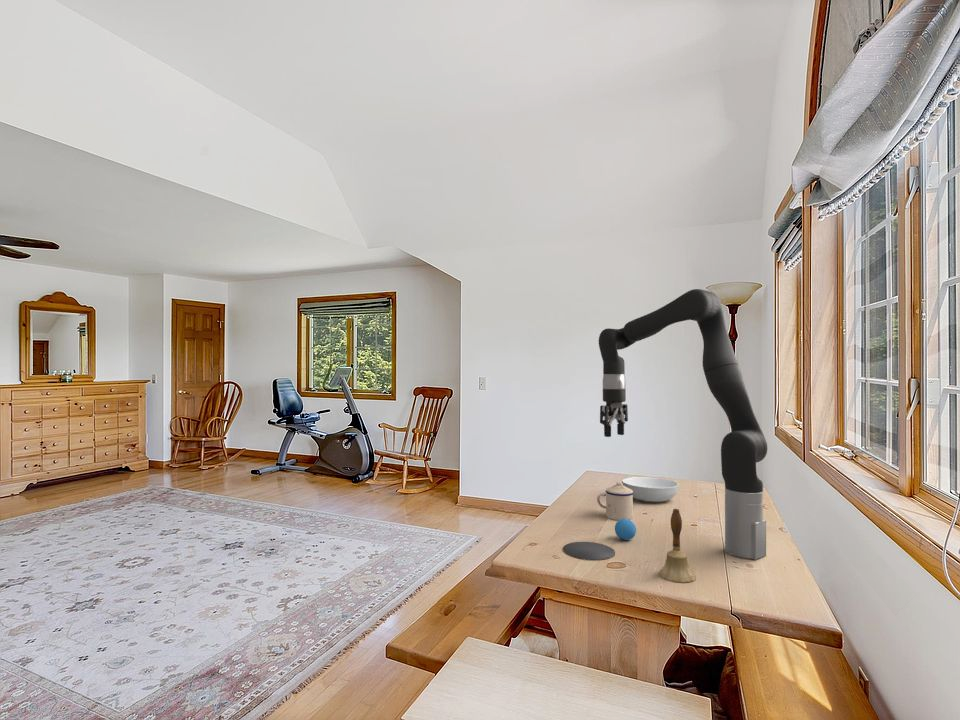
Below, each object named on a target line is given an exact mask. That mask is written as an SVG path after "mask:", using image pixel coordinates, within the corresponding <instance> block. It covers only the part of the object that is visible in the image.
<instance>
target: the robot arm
mask: <svg viewBox="0 0 960 720" xmlns="http://www.w3.org/2000/svg"><path fill="white" fill-rule="evenodd" d="M690 320H691V321H694V322H695V321H696V322H697V324H698V325H697V326H698V327H699V330H700V333H701V336H702V341H703V343H702V344H703V351H702V352H703V353H702V369H703V370H702V371H703V373H704V376H705V377H704V378H705V380H706V383H707V385H708V388H709V391H710V392H711V395H712V396H713V398H715V400H716V401H717V403H718V404H719V405H720V407H721V408H722V409H723V412H724V413H725V414H726V417H727V420H728V422H729V426H730V429H731V431H730V432H729V433H727V434H726V435H725V436H724V437H723V438H722V441H721V445H720V462H721V464H720V465H721V476H722V479H723V482H724V551H725V553H727V554H729V555H731V556H734V557H738V558H742V559H751V560H753V561H754V560H759V559H762V558H763V557H766V556H767V520H766V519H765V518H763V517H764V511H763V510H764V509H763V508H764V505H763V504H764V503H763V502H764V501H763V499H764V491H763V490H764V484H763V481H762V480H761V479H760V478H759V477H758V475H757V464H758V463H759V462H762V461H763V460H764V459H765V457H766V456H767V454H768V443H767V440H766V437H765V435H764V433H763V431H762V429H761V426H760V424H759V421H758V420H757V417H756V415H755V413H754V409H753V407H752V403H751V401H750V398H749V395H748V391H747V388H746V384H745V381H744V379H743V378H744V377H743V375H742V372H741V368H740V365H739V362H738V359H737V357H736V354H735V351H734V348H733V345H732V342H731V339H730V336H729V333H728V330H727V324H726V320H725V315H724V310H723V305H722V302H721V300H720V297H719V296H718V295H717V294H716V293H714V292H712V291H710V290H705V289H700V288H699V289H698V288H695V289H690V290H688V291H686V292H685V293H683V294H681V295H679V296H678V297H677V298H675V299H673V300H671V302H669V303H667V304H665V305H663V306H662V307H659V308H658V309H656V310H654V311H651V312H650V313H647V314H644V315H642V316H640V317H637V318H635V319H632V320H630V321H628V322H626V323H625V324H624V326H623V327H621V328H609V327H608V328H604V329H603V330H602V331H601V332H600V333H599V337H598V348H599V352H600V356H601V359H602V364H603V365H602V366H603V369H602V371H603V372H602V373H603V374H602V376H603V377H602V401H603V402H605V405H600V406H599V408H600V409H599V423H600V424H602V425H603V427H604V428H603V430H604V431H603V433H604V434H603V436H604V437H606V438H611V437H612V423H613V421H614V420H616V423H617V424H616V426H617V427H616V429H617V431H616V433H617V435H618V436H624V435H625V424H626V422H628V421H629V414H628V413H629V411H628V404H626V403H625V404H624V402H626V396H627V395H626V389H627V388H626V376H625V370H626V369H625V359H624V358H623V357H622V356H620V355H619V353H618V352H619V350H624V349H627V348H629V347H630V346H632V345H633V344H635V343H636V342H639V341H642V340H645V339H647V338H649V337H652V336H655V335H656V334H658V333H660V332H661V331H662V330H664V329H665V328H667V327H668V326H671V325H673V324H676V323H680V322H686V321H690Z"/></svg>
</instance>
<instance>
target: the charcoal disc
mask: <svg viewBox="0 0 960 720" xmlns="http://www.w3.org/2000/svg"><path fill="white" fill-rule="evenodd" d="M562 551H563V553H564V554H566V555H568V556H570V557H572V558H576V559H579V560H584V559H585V560H586V561H602V560H608V559H612V558H613V557H615V555H616V550H615V549H614V548H612V547H611V546H609V545H607V544H603V543H600V542H593V541H574V542H569V543H566V544H564V546H562ZM585 560H584V561H585Z"/></svg>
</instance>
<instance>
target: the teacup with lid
mask: <svg viewBox="0 0 960 720" xmlns="http://www.w3.org/2000/svg"><path fill="white" fill-rule="evenodd" d="M601 497H606V498H605V502H606V504H605V505H603V504H602V503H601V501H600V499H601ZM596 501H597V504H598V506H599V507H600V508H602V509H604V510H606V511H605V515H606V517H607V518H608V519H611V520H613V519H615V520H614V521H619V520H620V519H629V520H632V519H633V518H634V517H633V516H634V515H633V514H634V512H633V511H634V510H633V509H634V507H633V505H634V503H633V502H634V498H633V491H632V490H631V489H629V488H627V487H625V486H623V485H622V481H617V482H616V484H614V485H612V486H609V487H607V488H606V489H605V493H600V494H598V495H597V498H596Z"/></svg>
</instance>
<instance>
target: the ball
mask: <svg viewBox="0 0 960 720" xmlns="http://www.w3.org/2000/svg"><path fill="white" fill-rule="evenodd" d="M614 532H615V534H616V536H617V537H618V538H619V539H621V540H623V541H630V540H632V539H633V538H634V537H635V535H636V533H637V528H636V525H635V522H633V521H632V519H630V520H629V519H620V520H616V522H615V525H614Z"/></svg>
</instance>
